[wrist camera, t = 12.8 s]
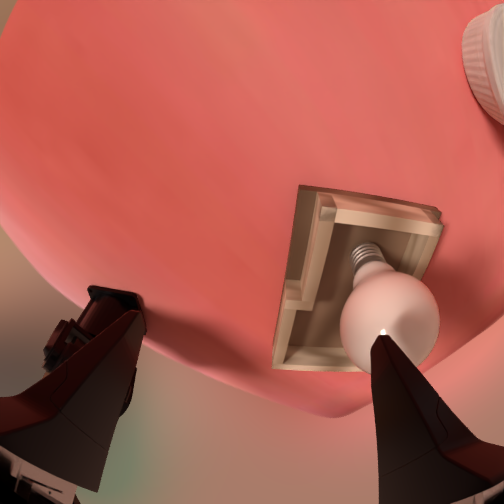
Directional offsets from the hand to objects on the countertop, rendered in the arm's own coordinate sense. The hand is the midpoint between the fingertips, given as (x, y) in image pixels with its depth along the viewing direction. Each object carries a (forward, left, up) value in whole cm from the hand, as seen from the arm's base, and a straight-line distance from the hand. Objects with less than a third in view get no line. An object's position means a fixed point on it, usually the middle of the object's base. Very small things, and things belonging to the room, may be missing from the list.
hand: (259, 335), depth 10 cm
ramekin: (+18, +15, -13) cm, 27 cm away
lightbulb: (+8, -4, -12) cm, 15 cm away
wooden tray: (+8, -8, -13) cm, 17 cm away
